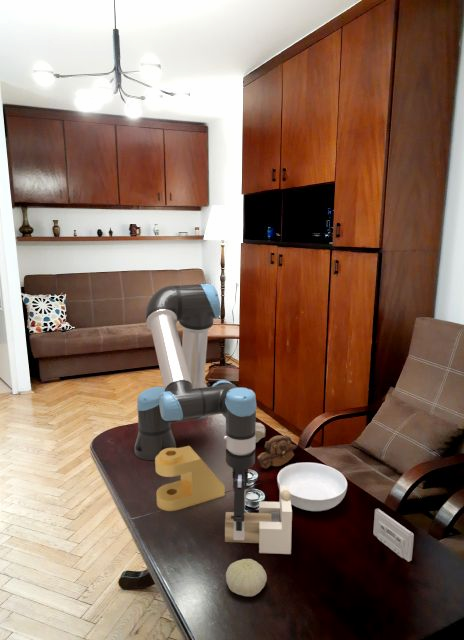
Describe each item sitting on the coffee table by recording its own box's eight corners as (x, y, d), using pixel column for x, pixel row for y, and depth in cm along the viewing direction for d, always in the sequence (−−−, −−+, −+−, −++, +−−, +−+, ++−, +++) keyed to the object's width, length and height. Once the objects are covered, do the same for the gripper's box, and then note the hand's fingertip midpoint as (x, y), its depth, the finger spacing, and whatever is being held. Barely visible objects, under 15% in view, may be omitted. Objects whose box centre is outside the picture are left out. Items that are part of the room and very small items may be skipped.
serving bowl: (349, 487, 143) (350, 467, 141) (342, 528, 123) (343, 506, 122) (285, 475, 149) (285, 456, 148) (269, 512, 130) (269, 491, 129)
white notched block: (258, 523, 125) (259, 478, 122) (287, 524, 125) (289, 478, 122) (259, 552, 114) (259, 503, 111) (291, 554, 113) (292, 504, 111)
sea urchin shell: (220, 562, 107) (245, 541, 106) (242, 582, 108) (267, 561, 108) (223, 593, 98) (250, 570, 97) (247, 614, 99) (274, 592, 99)
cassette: (413, 560, 111) (415, 533, 110) (408, 563, 110) (410, 535, 109) (376, 532, 122) (378, 507, 120) (371, 534, 121) (373, 509, 119)
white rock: (259, 436, 177) (259, 413, 175) (271, 445, 170) (272, 420, 168) (233, 444, 171) (233, 419, 169) (245, 453, 164) (245, 428, 162)
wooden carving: (265, 475, 149) (265, 447, 147) (256, 469, 153) (256, 442, 151) (299, 459, 159) (300, 433, 157) (289, 454, 163) (290, 429, 161)
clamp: (162, 514, 129) (160, 464, 126) (152, 497, 137) (150, 449, 134) (224, 495, 138) (224, 448, 135) (211, 481, 146) (211, 435, 143)
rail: (226, 531, 122) (225, 510, 121) (278, 533, 121) (278, 512, 120) (224, 542, 118) (224, 520, 116) (279, 544, 117) (279, 522, 116)
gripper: (228, 426, 127) (228, 492, 131) (222, 475, 102) (222, 554, 107) (255, 426, 126) (254, 493, 131) (255, 476, 102) (253, 556, 107)
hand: (239, 521), depth 119 cm, fingers open, 13 cm apart
